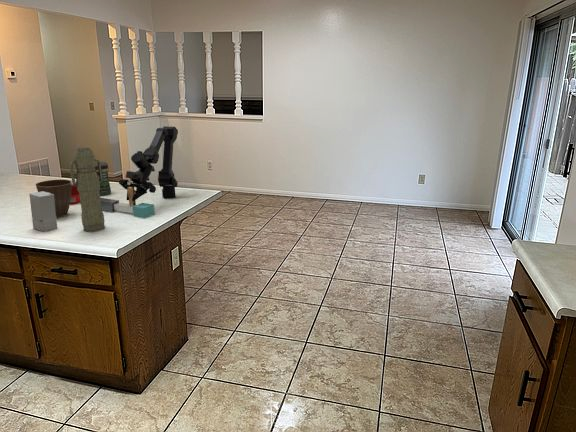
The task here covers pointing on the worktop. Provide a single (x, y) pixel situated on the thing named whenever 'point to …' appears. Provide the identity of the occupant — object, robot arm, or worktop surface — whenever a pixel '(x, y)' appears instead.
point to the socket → (143, 210)
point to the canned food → (74, 195)
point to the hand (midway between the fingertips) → (130, 200)
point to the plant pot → (58, 194)
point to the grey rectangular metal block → (107, 204)
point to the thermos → (88, 189)
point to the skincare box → (43, 211)
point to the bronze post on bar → (126, 207)
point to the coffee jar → (104, 179)
